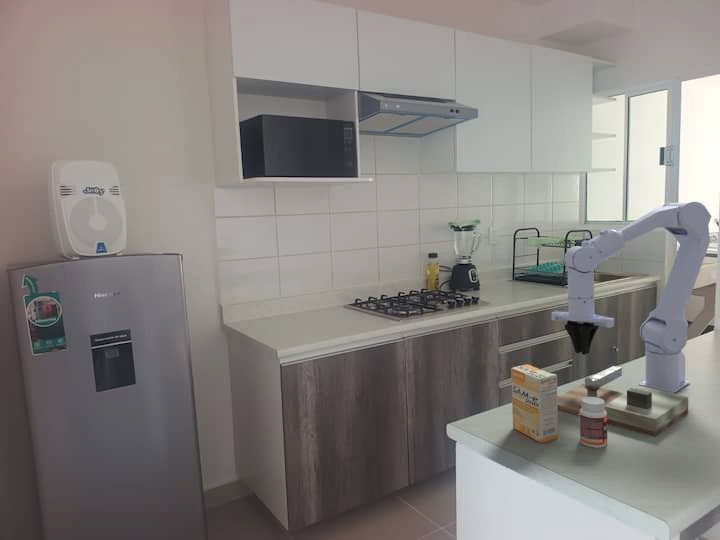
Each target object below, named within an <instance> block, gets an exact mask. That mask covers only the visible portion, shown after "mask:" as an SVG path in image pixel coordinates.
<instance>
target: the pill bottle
mask: <svg viewBox="0 0 720 540" xmlns="http://www.w3.org/2000/svg"><path fill="white" fill-rule="evenodd" d="M581 407H582V408H581V409H580V411H579V415H578V416H579V441H580V442H581V444H582V445H584V446H586V447H589V448H594V449H595V448H596V449H598V448H604V447H606V446H607V445H608V423H607V412H606V411H605V410H604V409H605V401H604V400H603V399H601V398H597V397H584V398H582V400H581Z"/></svg>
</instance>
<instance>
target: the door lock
mask: <svg viewBox="0 0 720 540" xmlns="http://www.w3.org/2000/svg"><path fill="white" fill-rule="evenodd" d="M584 397H597V398H601V399H603V400H604V401H605V409H604V410H605V411H606V412H607V424H608V423H609V425H613V426H616V427H619V428H623V429H626V428H627V430H631V431H633V430H634V431H633V432H637V433H640V432H641V433H640V434H644V435H648V436H651V437H658V436H659V435H661V434H662V433H663V432H665V430H667V429H668V428H670V427H671V426H672V425H673V424H675V423H676V422H678V421H679V420H681V418H683V417H684V416H685V415H687V414H688V413H689V396H688V395H684V394H679V393H676V392H675V393H671V392H666V391H661V390H657V389H652V388H647V387H642V386H639V385H637V386H635V387H630V388H629V389H627V390H626V392H625V393H624V392H621V391H616V390H611V389H607V388H604V387H603V388H602V387H600V389H599V390H588V389H586V388H585V383H581V384H580V385H578V386H576V387H574V388H572V389H570V390H568V391H565V392H563V393H562V394H560V395H557V405H558V410H560V411H562V410H564V411H563V412H566V411H567V412H566V413H569V412H571V413H570V414H573V413H575V414H574V415H576V414H579V411H580V409H581V408H582V407H581V400H582V398H584Z"/></svg>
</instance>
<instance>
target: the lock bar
mask: <svg viewBox="0 0 720 540" xmlns="http://www.w3.org/2000/svg"><path fill="white" fill-rule="evenodd" d="M622 376H623V367H621V366H617V365H612V366H611V367H608V368H606V369H604V370H602V371H600V372H598V373H596V374H594V375H592V376H589V377H587V376H586V377H585V378H584V384H585V388H586V389H588V390H599V389H600V388H602V387H603V386H605V385H607V384H609V383H610V382H612V381H614V380H616V379H618V378H620V377H622Z"/></svg>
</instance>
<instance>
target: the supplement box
mask: <svg viewBox="0 0 720 540" xmlns="http://www.w3.org/2000/svg"><path fill="white" fill-rule="evenodd" d="M510 371H511V372H510V375H511V377H510V378H511V405H512V406H511V407H512V408H511V409H512V429H514V430H516V431H518V432H519V433H522V434H524V435H526V436H527V437H529V438H532V439H533V440H535V441H536V442H537V443H539V444H543V443H546V442H550V441H554V440H556V439H558V438H559V425H558V424H559V423H558V422H559V420H558V419H559V416H558V415H559V414H558V410H559V409H558V405H557V397H558V374H555V373H553V372H550V371H547V370H544V369H542V368H539V367H536V366H533V365H532V364H523V365H519V366H514V367H511V368H510Z"/></svg>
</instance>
